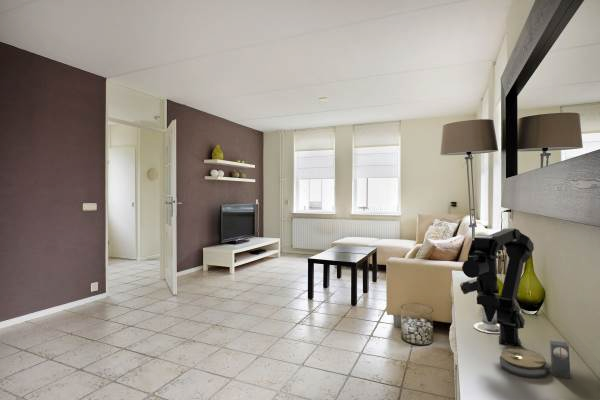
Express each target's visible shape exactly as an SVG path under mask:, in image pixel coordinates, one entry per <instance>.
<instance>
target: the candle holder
mask: <svg viewBox="0 0 600 400" xmlns="http://www.w3.org/2000/svg"><path fill="white" fill-rule="evenodd" d="M479 326H480V327H481V326H484V327H485V329H486V330H487V331H486V330H482V329H481V328H480V327H479ZM473 328H475V330H478V331H480V332H483V333H487V334H500V331H497V330H498V328H500V327H499V324H496V325H488V324H485V323H483V322H481V321H480V322H476V323H475V324H473Z"/></svg>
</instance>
